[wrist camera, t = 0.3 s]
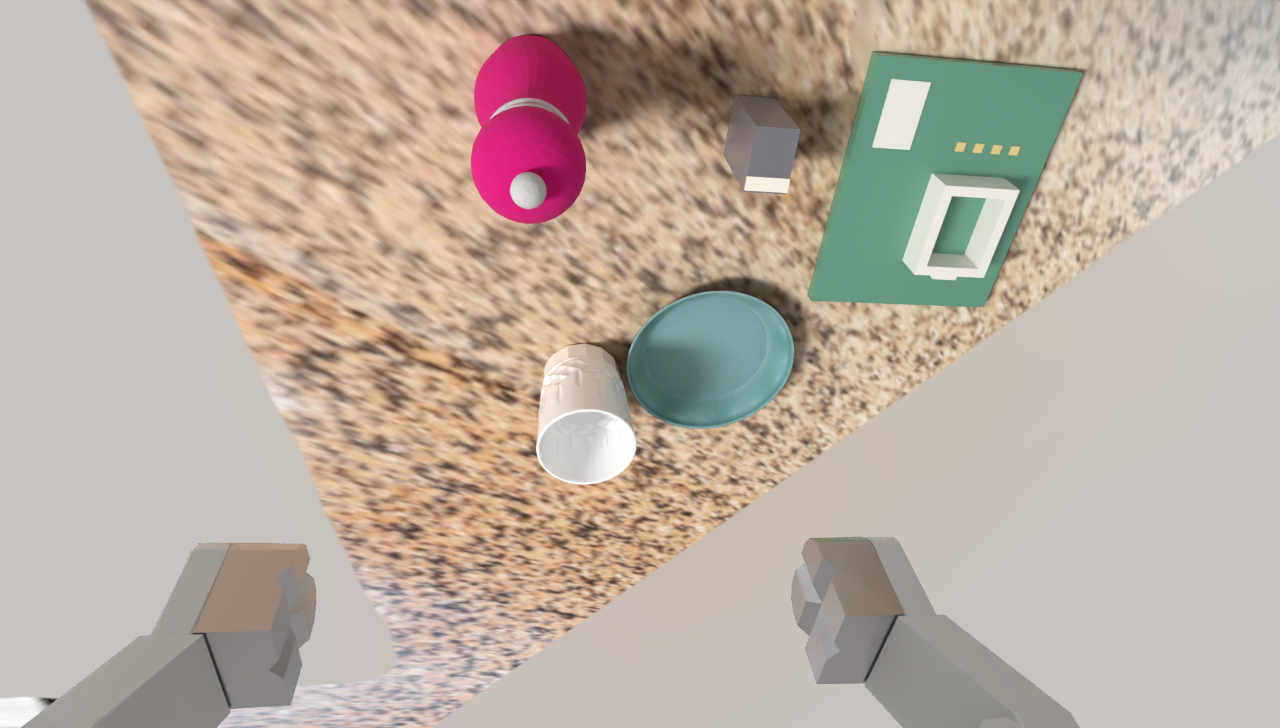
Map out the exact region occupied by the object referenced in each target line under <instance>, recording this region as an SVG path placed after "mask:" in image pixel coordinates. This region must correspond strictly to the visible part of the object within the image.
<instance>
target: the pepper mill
mask: <svg viewBox="0 0 1280 728" xmlns="http://www.w3.org/2000/svg"><path fill="white" fill-rule="evenodd" d="M474 102H475V110H476V115H477V118H478V121H479V123H480V125H481V127H482V128H481V130H480V132H479V133H478V135H477V137H476V140H475V142H474V144H473V149H472V156H471V170H472V176H473V180H474V183H475V186H476V188H477V190H478V192H479V194H480V195H481V197H482V198H483V200H484V201H485V202H486V203H487V204H488V205H489V206H490V207H491V208H492V209H493V210H494V211H495V212H497V213H498V214H500V215H501V216H503V217H505V218H507V219H509V220H513V221H516V222H520V223H526V224H533V223H542V222H546V221H548V220H551V219H554V218H556V217H557V216H559V215H561V214H562V213H564V212H565V211H566V210H567V209H568V208H569V207H571V205H572V204H573V203H574V202H575V200H576V199H577V197H578V196H579V194H580V192H581V190H582V187H583V184H584V181H585V173H586V159H585V153H584V150H583V147H582V144H581V141H580V139H579V138H578V136H577V135H578V133H579V131H580V129H581V127H582V125H583V122H584V118H585V114H586V91H585V86H584V83H583V80H582V77H581V75H580V73H579V71H578V70H577V68H576V67H575V65H574V64H573V63H572V61H571V60H570V59H569V57H568V56H567V54H566V53H565V52H564V51H563V50H562V49H561V48H560V47H559V46H558V45H556V44H555V43H554V42H552V41H550V40H548V39H546V38H543V37H539V36H535V35H523V36H518V37H514V38H512V39H510V40H508V41H506V42H505V43H503V44H502V45H501V46H500V47H499V48H498V49H497V50H496V51H495V52H494V53H493V54H492V55H491V56H490V57H489V58H488V59H487V61H486V62H485V63H484V64H483V66H482V68H481V69H480V71H479V74H478V77H477V79H476V84H475V91H474Z"/></svg>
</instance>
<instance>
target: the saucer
mask: <svg viewBox="0 0 1280 728" xmlns="http://www.w3.org/2000/svg"><path fill="white" fill-rule="evenodd" d="M793 361H794V342H793V337H792V334H791V332H790V329H789V327H788V325H787V323H786V322H785V320H784V319H783V317H782V316H781V315H780V314H779V313H778V312H777V311H776V310H775V309H774V308H773V307H772V306H770V305H769V304H767V303H765V302H764V301H762V300H760V299H758V298H756V297H753V296H751V295H747V294H744V293H740V292H734V291H708V292H701V293H696V294H692V295H689V296H686V297H683V298H681V299H678V300H676V301H674V302H672V303H671V304H669V305H667V306H665V307H664V308H662V309H661V310H659V311H658V312H657V313H656V314H654V315H653V316H652V317H651V318H650V319H649V320H648V321H647V322H646V323H645V324H644V325H643V326H642V328H641V329H640V330H639V332H638V333H637V335H636V336H635V338H634V340H633V342H632V344H631V347H630V349H629V353H628V358H627V366H626V371H627V378H628V383H629V386H630V388H631V391H632V393H633V394H634V396H635V398H636V399H637V401H638V402H639V403H640V404H641V406H642V407H643V408H644V409H645V410H647V411H648V412H649V413H650V414H652V415H653V416H655V417H656V418H658V419H660V420H662V421H664V422H666V423H669V424H672V425H676V426H679V427H684V428H691V429H707V428H717V427H722V426H725V425H729V424H732V423H735V422H737V421H740V420H743V419H745V418H747V417H749V416H751V415H753V414H755V413H756V412H758V411H759V410H761V409H762V408H763V407H765V406H766V405H767V404H768V403H769V402H770V401H771V400H772V399H774V397H775V396H776V395H777V394H778V393H779V392H780V391H781V389H782V387H783V386H784V385H785V383H786V381H787V379H788V377H789V375H790V372H791V370H792V366H793Z"/></svg>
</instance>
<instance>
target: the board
mask: <svg viewBox="0 0 1280 728" xmlns="http://www.w3.org/2000/svg"><path fill="white" fill-rule="evenodd" d="M1082 75H1083V73H1081V72H1079V71H1077V70H1071V69H1060V68H1049V67H1038V66H1027V65H1016V64H1005V63H994V62H983V61H972V60H961V59H950V58H939V57H928V56H917V55H906V54H895V53H884V52H873V53H872V56H871V60H870V64H869V68H868V71H867V75H866V79H865V82H864V86H863V90H862V94H861V97H860V101H859V105H858V109H857V112H856V116H855V120H854V124H853V127H852V131H851V135H850V138H849V142H848V146H847V150H846V153H845V157H844V161H843V165H842V168H841V172H840V176H839V180H838V183H837V187H836V191H835V194H834V198H833V202H832V206H831V209H830V213H829V217H828V221H827V224H826V228H825V232H824V236H823V239H822V243H821V247H820V250H819V254H818V258H817V262H816V265H815V269H814V273H813V277H812V280H811V284H810V288H809V292H808V296H809V298H810V300H811V301H833V302H860V303H886V304H912V305H939V306H965V307H984V305H985V303H986V301H987V298H988V296H989V294H990V291H991V289H992V287H993V284H994V282H995V279H996V277H997V275H998V272H999V270H1000V268H1001V265H1002V263H1003V261H1004V258H1005V256H1006V254H1007V251H1008V249H1009V247H1010V244H1011V242H1012V240H1013V237H1014V235H1015V233H1016V230H1017V228H1018V225H1019V223H1020V221H1021V218H1022V216H1023V214H1024V211H1025V209H1026V207H1027V204H1028V202H1029V200H1030V197H1031V195H1032V193H1033V190H1034V188H1035V186H1036V183H1037V181H1038V178H1039V176H1040V174H1041V171H1042V169H1043V167H1044V164H1045V162H1046V160H1047V157H1048V155H1049V153H1050V150H1051V148H1052V146H1053V143H1054V141H1055V139H1056V136H1057V134H1058V131H1059V129H1060V127H1061V124H1062V122H1063V120H1064V117H1065V115H1066V113H1067V110H1068V108H1069V106H1070V103H1071V101H1072V99H1073V96H1074V94H1075V92H1076V89H1077V87H1078V84H1079V82H1080V80H1081V77H1082Z"/></svg>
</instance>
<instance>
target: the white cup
mask: <svg viewBox="0 0 1280 728" xmlns="http://www.w3.org/2000/svg"><path fill="white" fill-rule="evenodd" d="M636 447H637V442H636V436H635V432H634V428H633V423H632V419H631V414H630V409H629V405H628V401H627V397H626V394H625V389H624V385H623V382H622V380H621V377H620V372H619V369H618V366H617V364H616V362H615V359H614V357H613V356H611V355H610V354H609V353H608V352H606V351H605V350H604V349H603V348H601V347H597V346H594V345H590V344H586V343H584V344H576V345H569V346H566V347H565V348H563V349H561V350H559V351H557V352H556V353H554V354H553V355H552V357H551V358H550V359H549V361H548V362H547V364H546V365H545V369H544V380H543V387H542V390H541V398H540V408H539V419H538V433H537V447H536V450H537V456H538V459H539V461H540V463H541V465H542V466H543V468H544V469H545V470H546V471H547V472H548V473H550V474H551V475H552V476H554V477H556V478H558V479H560V480H562V481H565V482H569V483H573V484H594V483H599V482H603V481H606V480H609V479H611V478H613V477H615V476H617V475H618V474H620V473H621V472H622V471H623V470H625V469H626V468H627V467H628V465H629V464H630V463H631V461H632V460H633V458H634V455H635V452H636Z"/></svg>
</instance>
